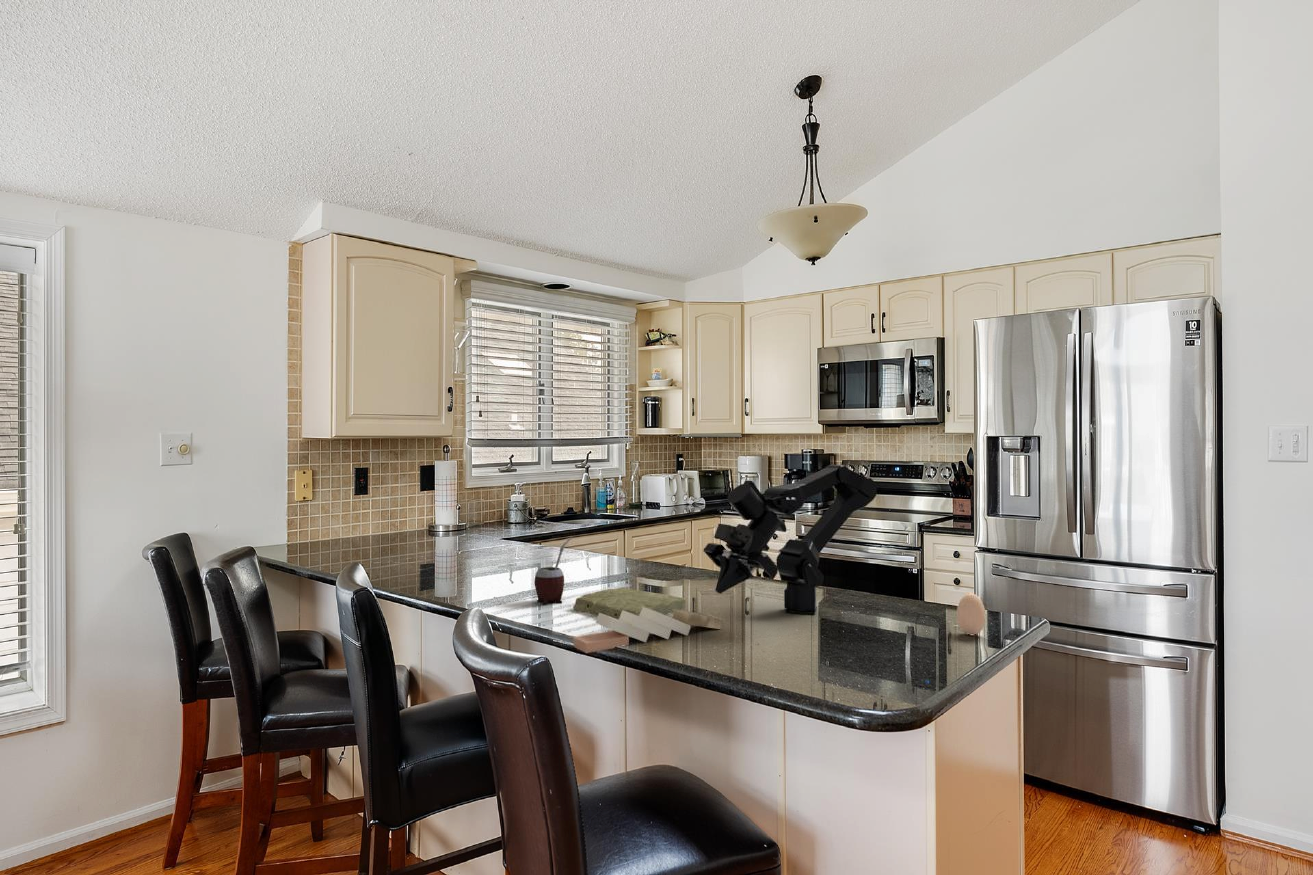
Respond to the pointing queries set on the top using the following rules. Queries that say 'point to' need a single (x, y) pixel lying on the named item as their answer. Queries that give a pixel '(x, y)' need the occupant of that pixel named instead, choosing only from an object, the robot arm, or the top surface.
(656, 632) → the domino
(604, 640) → the domino
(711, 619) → the domino
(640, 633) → the domino
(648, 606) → the olive green slab
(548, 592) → the mate gourd
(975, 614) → the egg
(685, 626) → the domino
